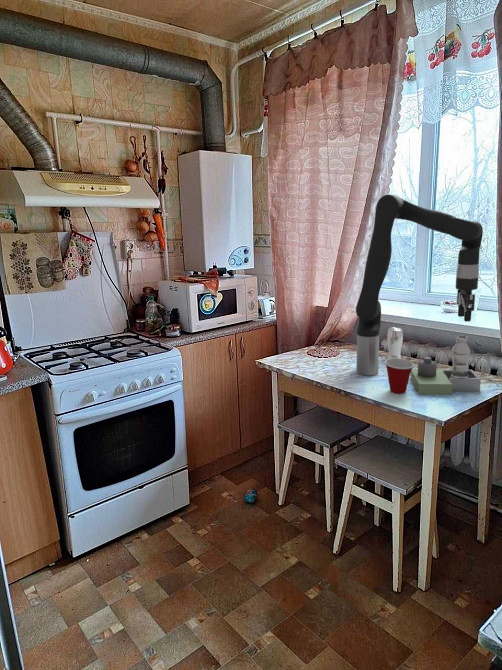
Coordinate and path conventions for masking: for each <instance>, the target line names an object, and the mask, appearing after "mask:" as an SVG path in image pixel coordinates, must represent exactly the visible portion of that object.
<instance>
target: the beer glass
mask: <svg viewBox="0 0 502 670" xmlns="http://www.w3.org/2000/svg"><path fill="white" fill-rule="evenodd" d="M386 337H387V341H386V342H387V346H388V347H387V349H388V357H387V359H391V358H398V359H402V357H401V351H402V348H403V347H402V346H403V340H404V334H403V328H401V327H389V328H387V335H386Z"/></svg>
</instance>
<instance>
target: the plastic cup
mask: <svg viewBox="0 0 502 670" xmlns="http://www.w3.org/2000/svg"><path fill="white" fill-rule="evenodd" d="M384 365H385V366H386V372H387V377H388V384H389V385H388V386H389V390H390V392H391V393H392V394H397V395H402V394H405V393H407V392H406V391H407V388H408V384H409V381H410V377H411V370H412V369H414V368H415V367H414V366H415V364H414V362H413V361H411V360H408V359H405V358H401V359H398V358H391V359H388V358H387V359H385V360H384Z"/></svg>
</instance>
